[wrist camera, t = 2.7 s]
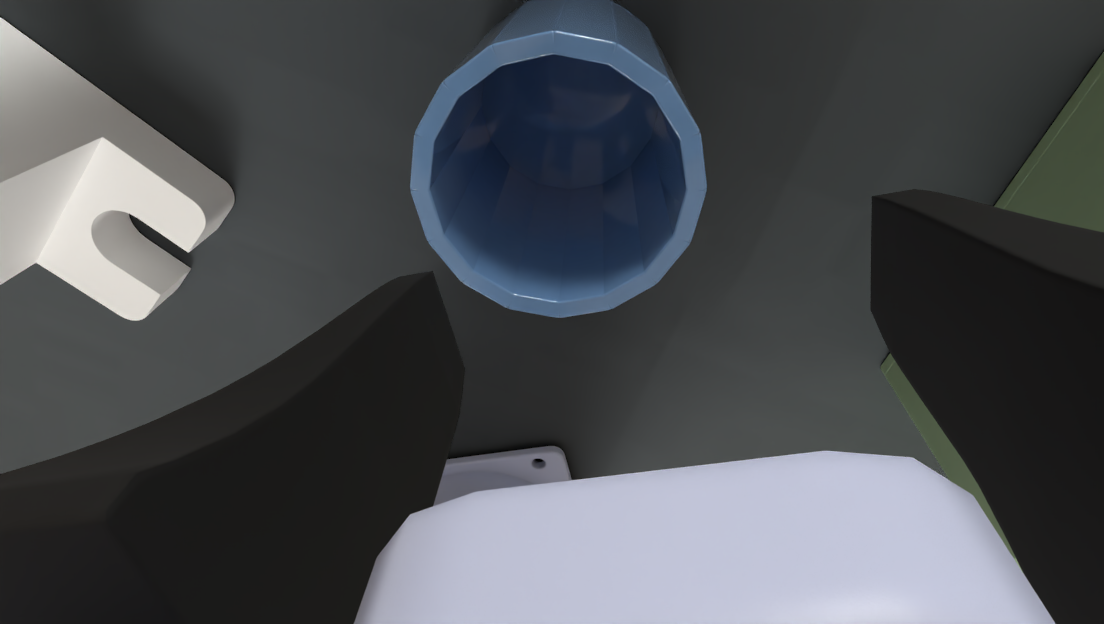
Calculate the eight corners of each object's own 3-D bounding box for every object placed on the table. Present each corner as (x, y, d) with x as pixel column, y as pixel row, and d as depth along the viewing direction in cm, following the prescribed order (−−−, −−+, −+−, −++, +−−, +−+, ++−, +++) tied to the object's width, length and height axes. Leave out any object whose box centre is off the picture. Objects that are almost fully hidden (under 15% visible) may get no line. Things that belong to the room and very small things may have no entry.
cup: (500, 209, 22) (458, 335, 15) (447, 18, 19) (369, 71, 13) (682, 175, 21) (719, 293, 14) (654, -31, 18) (685, -1, 12)
